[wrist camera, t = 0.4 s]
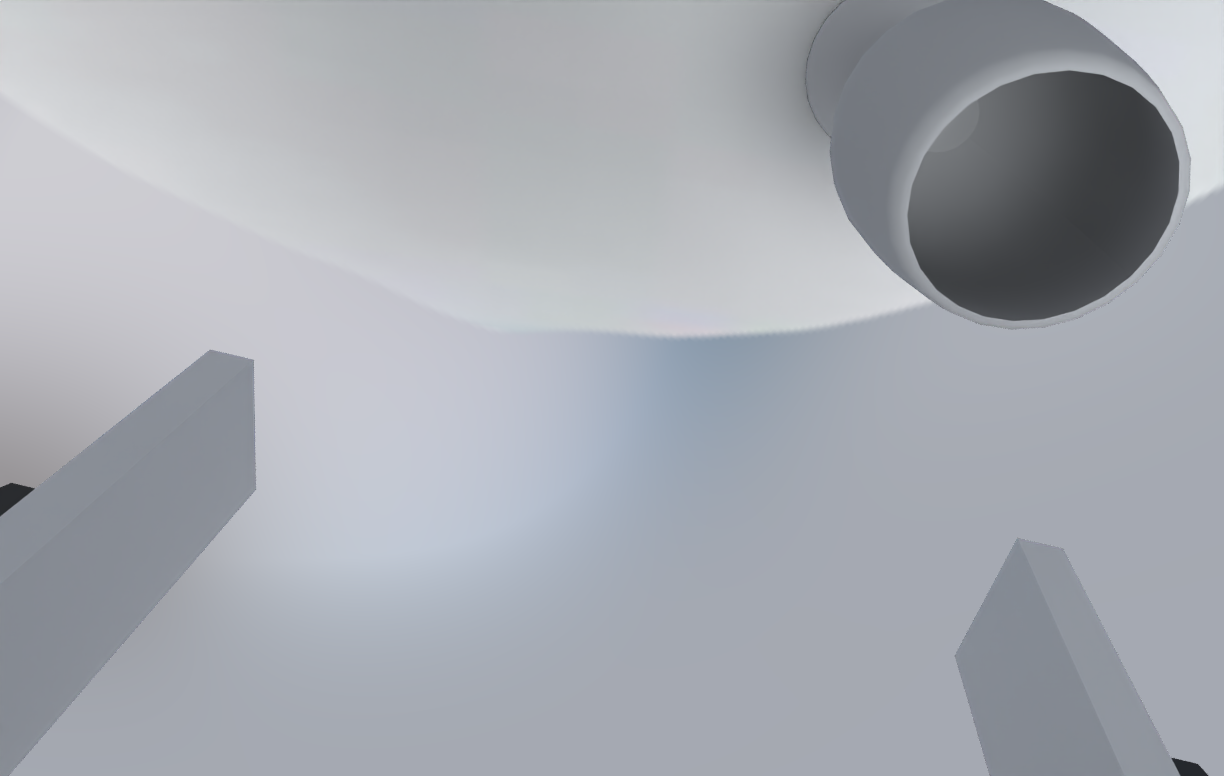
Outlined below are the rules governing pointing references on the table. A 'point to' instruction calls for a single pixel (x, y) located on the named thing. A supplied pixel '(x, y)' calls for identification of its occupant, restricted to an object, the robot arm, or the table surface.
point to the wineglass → (998, 153)
